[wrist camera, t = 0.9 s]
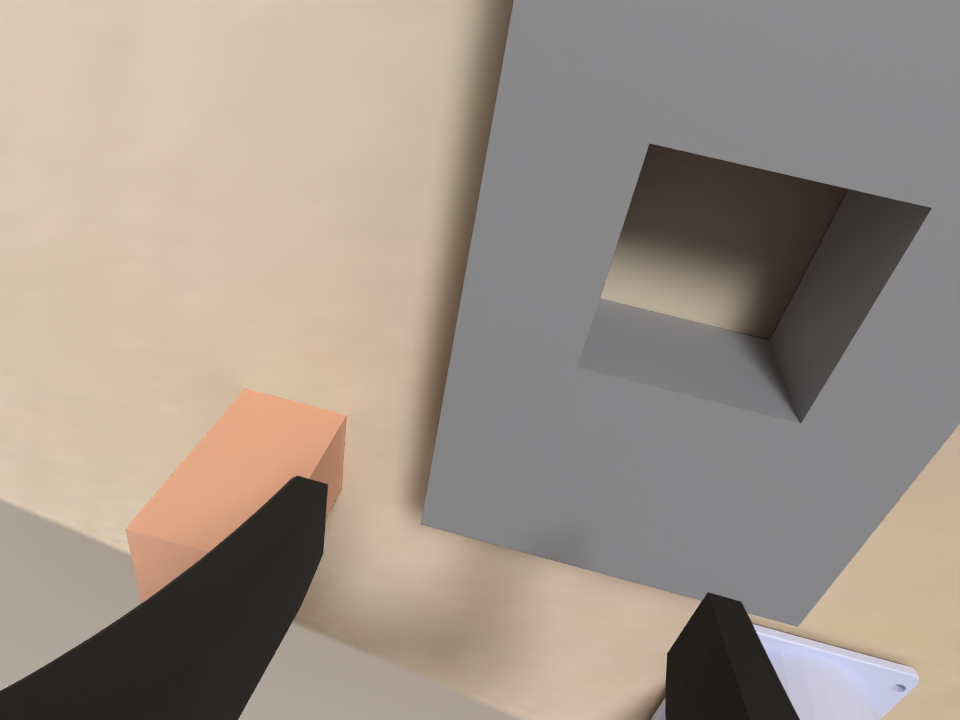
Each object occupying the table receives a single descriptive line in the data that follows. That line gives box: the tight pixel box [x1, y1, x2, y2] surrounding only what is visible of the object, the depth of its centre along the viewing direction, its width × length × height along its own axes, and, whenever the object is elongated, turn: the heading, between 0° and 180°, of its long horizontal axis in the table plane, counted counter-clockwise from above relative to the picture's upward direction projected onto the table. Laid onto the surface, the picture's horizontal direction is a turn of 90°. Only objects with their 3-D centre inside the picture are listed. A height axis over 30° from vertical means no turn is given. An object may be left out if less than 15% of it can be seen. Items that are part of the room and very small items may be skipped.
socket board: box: [421, 0, 960, 627], centre depth 16 cm, size 20×12×4 cm, turn 170°
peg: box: [126, 389, 347, 603], centre depth 22 cm, size 4×4×7 cm
